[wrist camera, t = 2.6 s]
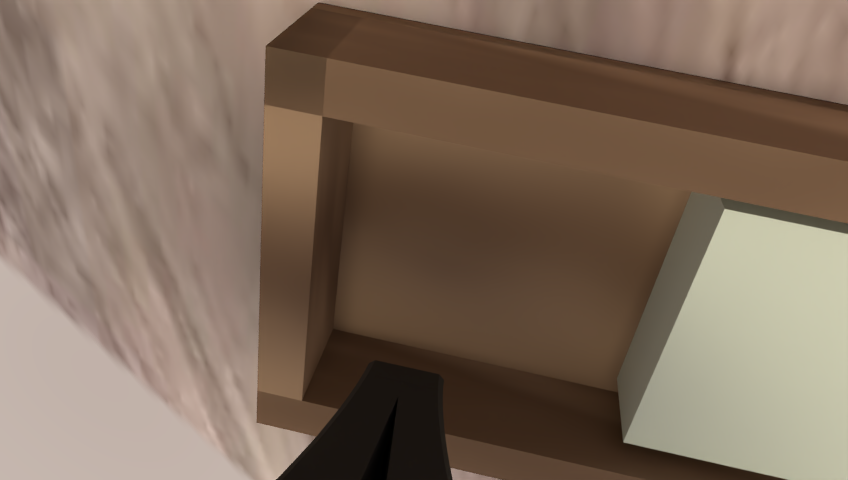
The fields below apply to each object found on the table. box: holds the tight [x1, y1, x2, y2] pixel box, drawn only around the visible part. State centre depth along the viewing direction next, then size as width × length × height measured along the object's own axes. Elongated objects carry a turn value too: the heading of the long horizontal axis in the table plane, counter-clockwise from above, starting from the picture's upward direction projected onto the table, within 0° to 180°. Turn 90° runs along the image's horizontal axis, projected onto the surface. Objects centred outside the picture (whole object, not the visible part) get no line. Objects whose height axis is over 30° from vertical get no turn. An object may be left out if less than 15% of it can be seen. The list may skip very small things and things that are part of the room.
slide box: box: [257, 3, 848, 480], centre depth 17 cm, size 10×18×4 cm, turn 82°
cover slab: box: [617, 192, 848, 480], centre depth 17 cm, size 7×8×2 cm
